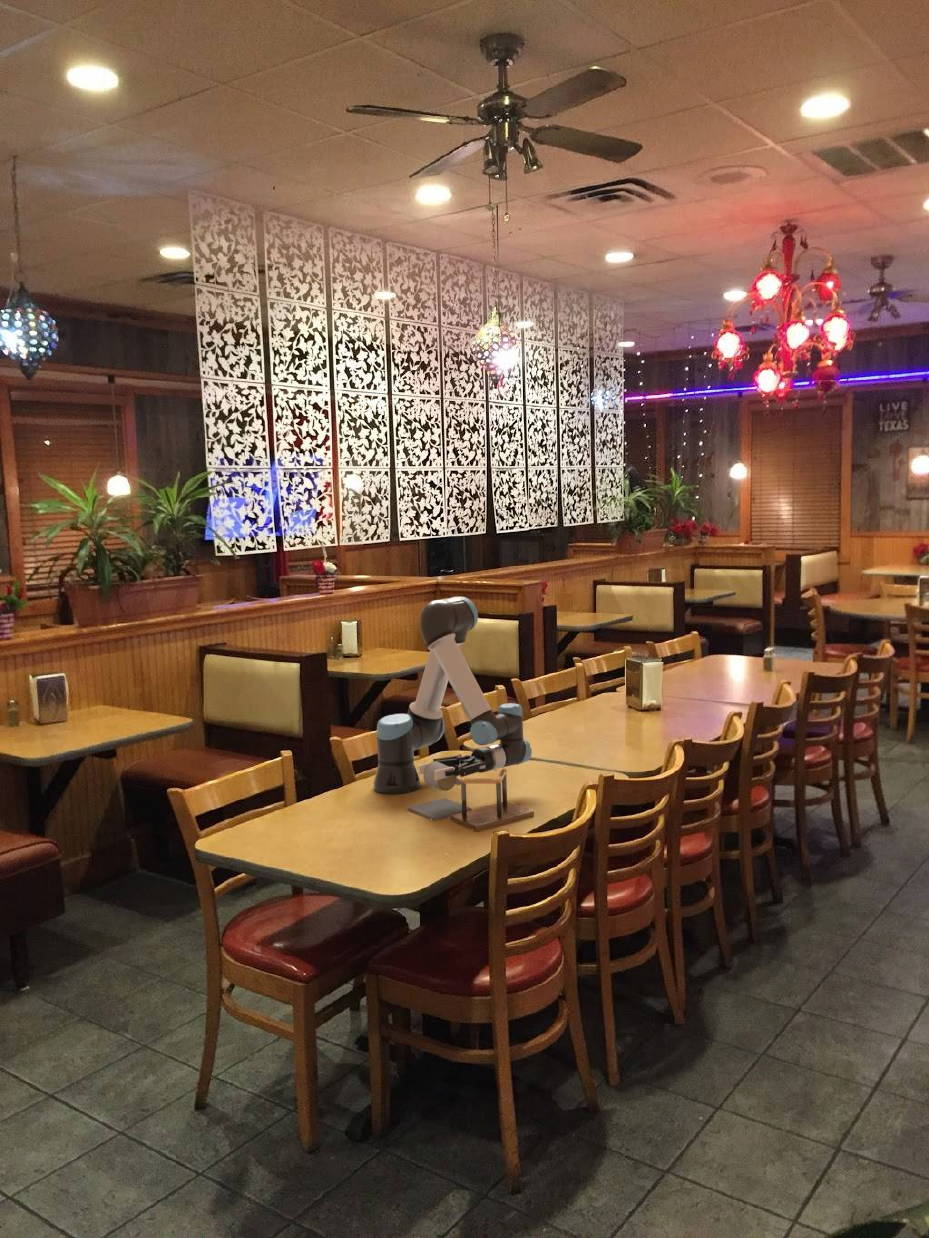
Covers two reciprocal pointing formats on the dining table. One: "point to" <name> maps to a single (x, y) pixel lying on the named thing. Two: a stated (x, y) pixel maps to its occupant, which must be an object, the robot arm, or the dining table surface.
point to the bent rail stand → (490, 807)
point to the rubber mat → (438, 809)
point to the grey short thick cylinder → (441, 783)
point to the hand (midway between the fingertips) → (426, 772)
